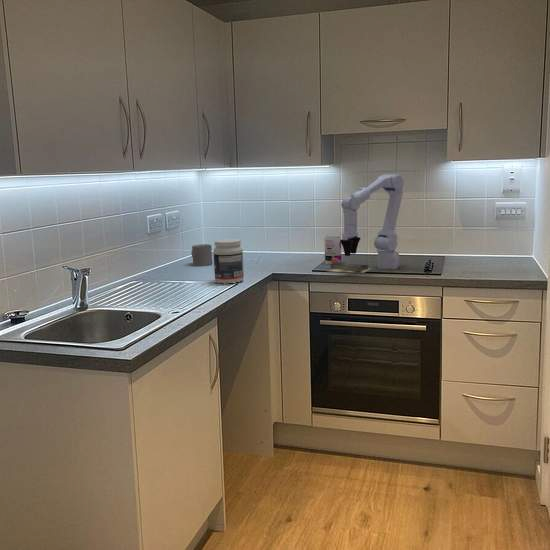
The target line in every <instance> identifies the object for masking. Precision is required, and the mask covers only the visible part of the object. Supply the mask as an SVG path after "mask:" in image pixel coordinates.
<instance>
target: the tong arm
mask: <svg viewBox="0 0 550 550" xmlns="http://www.w3.org/2000/svg"><path fill="white" fill-rule="evenodd" d="M338 264H342V269H346V270H354V271H362V266H357V265H349V264H350V263H346V264H345V262H338Z"/></svg>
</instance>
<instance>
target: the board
mask: <svg viewBox="0 0 550 550" xmlns="http://www.w3.org/2000/svg"><path fill="white" fill-rule="evenodd" d="M370 270H372V268H370V267H368V269H367V270H363V269H362V271H354V270H346V269H331V268H328V269H327V270H326V272H337V273H352V274H353V273H354V274H355V273H357V274H365V273H366V272H369V271H370Z"/></svg>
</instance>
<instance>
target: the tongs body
mask: <svg viewBox="0 0 550 550" xmlns="http://www.w3.org/2000/svg"><path fill="white" fill-rule="evenodd" d="M344 263H345V262H344ZM345 264H347V262H346V263H345ZM348 264H349V265H357V266H362V269H363V270H367V269H368V268H369V264H366V263H365V264H364V263H363V264H362V263H348ZM330 269H342V264H338V263H332V264H331V265H330Z"/></svg>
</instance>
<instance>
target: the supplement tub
mask: <svg viewBox="0 0 550 550" xmlns="http://www.w3.org/2000/svg"><path fill="white" fill-rule="evenodd" d="M213 244H214V248H213V251H212V254H213V267H214V281H215V282H216V283H217V282H219V283H218V284H220V283H233V282H239V283H241V282H243V281H244V279H245V275H244V252H243V251H244V250H243V247H242V246H241V244H242V242H241V239H238V238H223V239H217V240H214V243H213ZM240 281H241V282H240Z"/></svg>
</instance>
